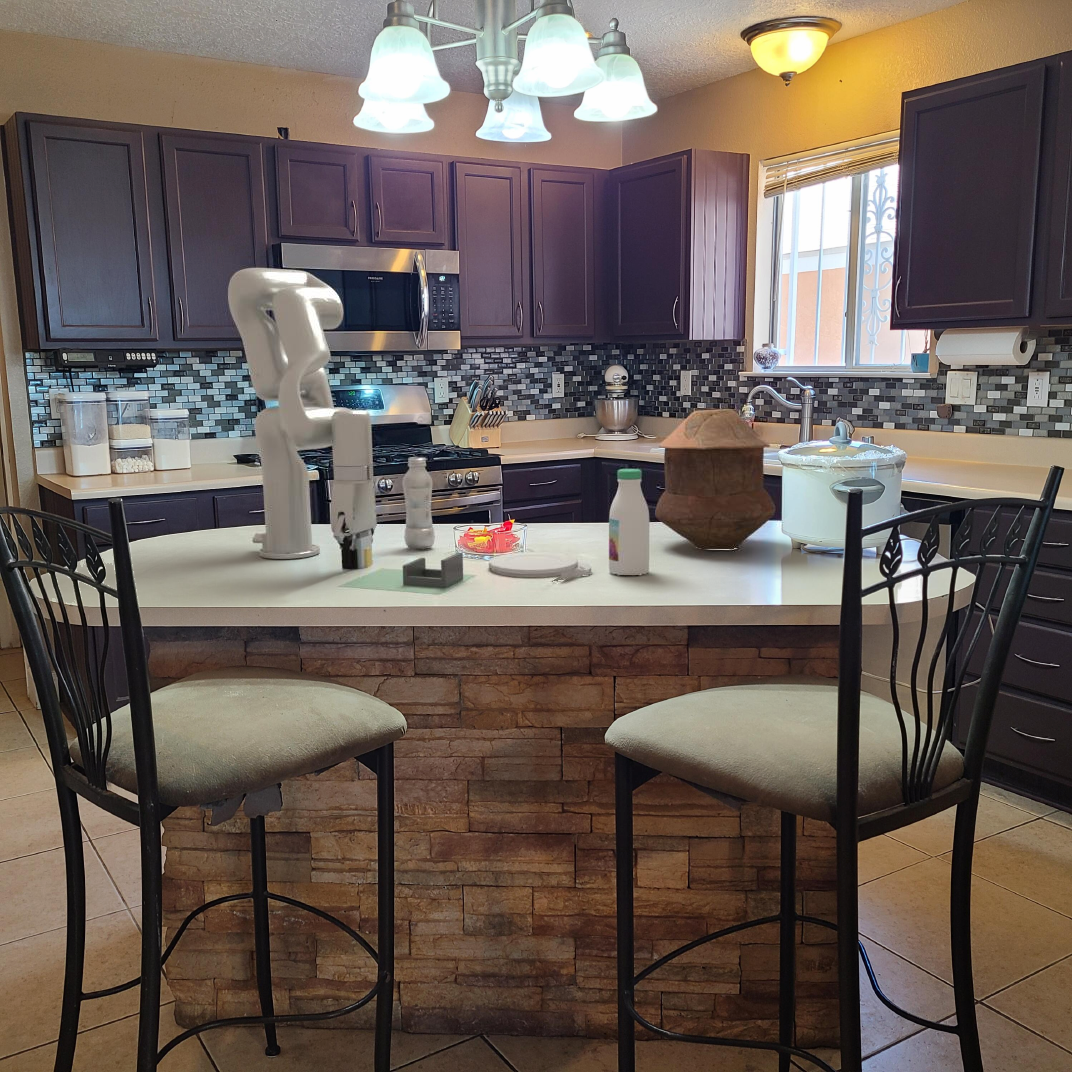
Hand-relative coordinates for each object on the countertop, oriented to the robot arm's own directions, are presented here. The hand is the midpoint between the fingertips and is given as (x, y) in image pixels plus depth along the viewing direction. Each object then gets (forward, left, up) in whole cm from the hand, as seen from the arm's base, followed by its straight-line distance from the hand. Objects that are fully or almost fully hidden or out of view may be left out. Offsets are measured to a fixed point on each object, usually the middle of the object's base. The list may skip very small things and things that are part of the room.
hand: (357, 565), depth 195 cm
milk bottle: (+51, +15, -1) cm, 53 cm away
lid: (+35, +9, -2) cm, 36 cm away
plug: (0, 0, -1) cm, 1 cm away
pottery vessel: (+62, +45, -1) cm, 77 cm away
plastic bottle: (+1, +25, -1) cm, 25 cm away
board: (+16, -9, -1) cm, 18 cm away
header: (+21, -9, 0) cm, 23 cm away
